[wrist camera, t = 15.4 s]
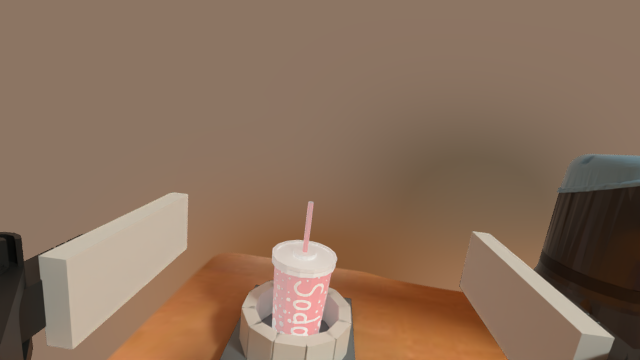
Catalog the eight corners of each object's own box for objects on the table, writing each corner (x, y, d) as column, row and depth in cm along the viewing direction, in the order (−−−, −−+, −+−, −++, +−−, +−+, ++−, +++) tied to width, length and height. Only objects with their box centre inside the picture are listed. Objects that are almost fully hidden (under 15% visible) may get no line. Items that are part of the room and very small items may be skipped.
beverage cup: (256, 354, 28) (270, 207, 26) (271, 312, 34) (284, 189, 32) (322, 365, 28) (344, 217, 25) (326, 321, 34) (344, 198, 31)
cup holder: (349, 307, 39) (354, 274, 38) (356, 434, 24) (366, 385, 23) (255, 293, 40) (258, 260, 39) (200, 409, 24) (203, 359, 23)
